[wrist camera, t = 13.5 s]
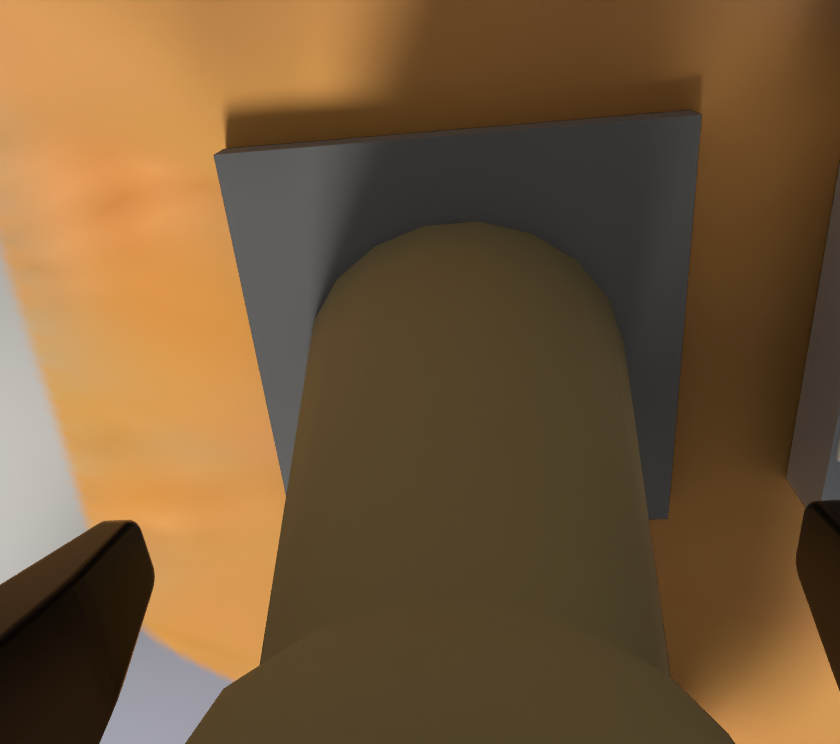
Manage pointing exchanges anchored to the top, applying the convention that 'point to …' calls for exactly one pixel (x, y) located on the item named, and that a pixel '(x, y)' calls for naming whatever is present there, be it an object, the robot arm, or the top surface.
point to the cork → (464, 517)
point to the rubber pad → (469, 202)
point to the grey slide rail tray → (821, 385)
